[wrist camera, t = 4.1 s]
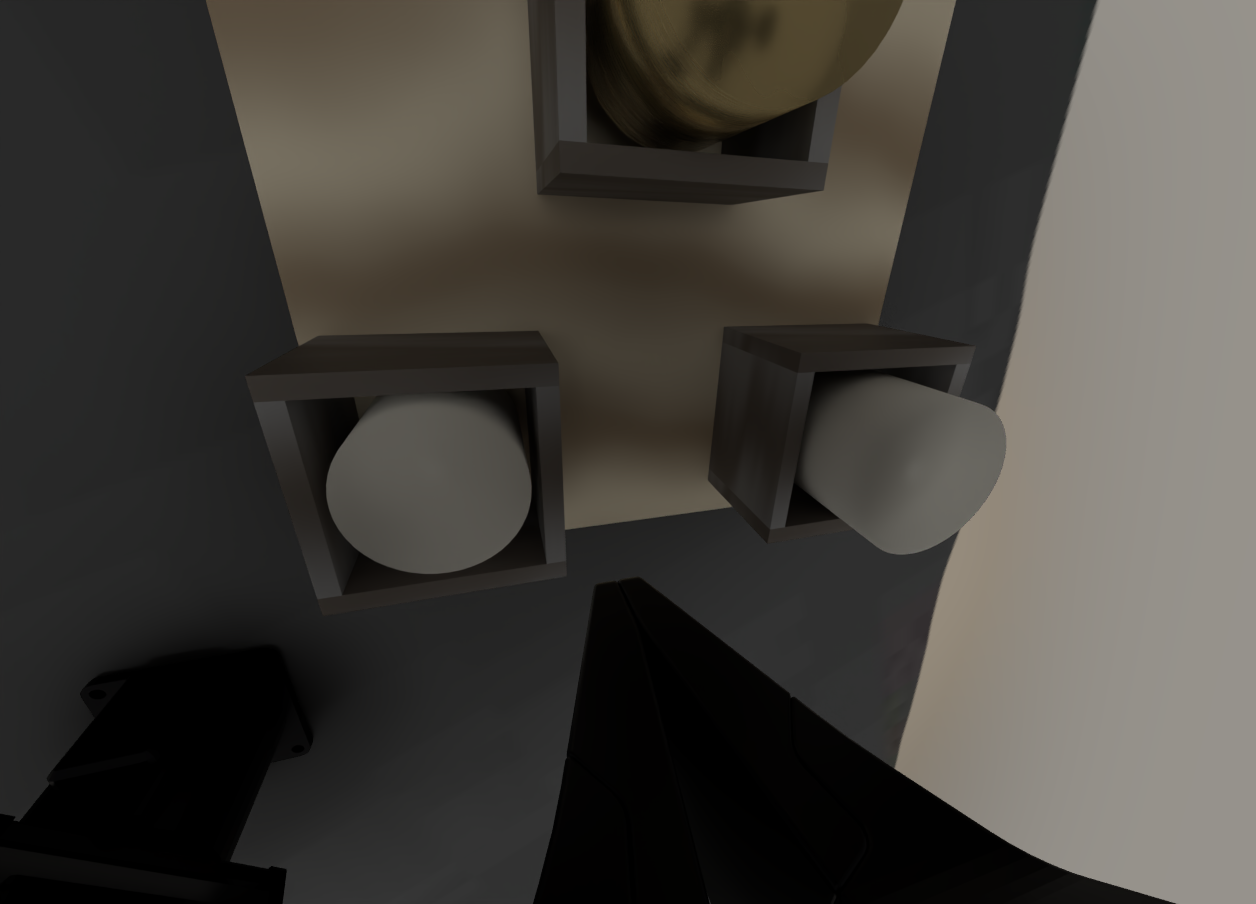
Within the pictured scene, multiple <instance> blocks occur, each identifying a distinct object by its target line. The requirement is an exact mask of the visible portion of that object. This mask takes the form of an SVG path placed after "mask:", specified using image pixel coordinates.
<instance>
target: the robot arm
mask: <svg viewBox="0 0 1256 904" xmlns="http://www.w3.org/2000/svg"><path fill="white" fill-rule="evenodd" d="M262 660H266V661H262ZM80 695H81V698H82V699H83V701H84V702H85V704H86V705H87V707H88V708H89V710H90V711H91V713H92V714H93V716H94V717H95V719H94V720H93V721H92V723H91V724H90V725H89V726H88V727H87V729H86V730H85V731H84V732H83V734H82V735H81V736H80V737H79V738H78V740H77V741H76V742H75V743H74V744H73V746H72V747H71V748H70V749H69V751H68V752H67V753H66V754H65V755H64V757H63V758H62V759H61V760H60V762H59V763H58V764H57V765H56V766H55V768H54V769H53V770H52V771H51V772H50V774H49V775H48V777H47V781H48V782H49V783H50V784H49V785H48V787H47V788H46V789H45V790H44V792H43V793H42V794H41V795H40V797H39V798H38V799H37V800H36V802H35V803H34V804H33V805H32V807H31V808H30V809H29V810H28V812H27V813H26V814H25V815H24V816H23V818H22V819H21V820H20V821H19V822H18V821H13V820H14V818H15V816H10V815H4V814H0V904H282V903H283V896H284V888H285V880H286V872H287V870H286V869H284V868H279V867H273V866H271V867H270V868H269V869H266V868H260V867H255V866H250V865H245V864H239V863H234V862H230V860H231V857H232V855H233V852H234V850H235V848H236V845H237V843H238V840H239V838H240V835H241V833H242V831H243V828H244V826H245V823H246V821H247V818H248V816H249V814H250V811H251V809H252V806H253V804H254V801H255V799H256V797H257V794H258V792H259V789H260V787H261V785H262V782H263V780H264V777H265V775H266V772H267V770H268V768H269V765H270V763H272V762H276V761H281V760H285V759H289V758H294V757H298V756H302V755H305V754H306V753H308V752H309V750H310V748H311V745H312V742H313V737H312V735H311V732H310V730H309V727H308V725H307V722H306V720H305V717H304V714H303V712H302V709H301V707H300V704H299V702H298V699H297V697H296V694H295V691H294V689H293V686H292V684H291V681H290V679H289V676H288V674H287V671H286V669H285V666H284V663H283V661H282V658H281V656H280V654H279V653H278V651H276V650H274V649H270V648H262V649H257V650H251V651H245V652H239V653H234V654H228V655H222V656H216V657H211V658H205V659H199V660H193V661H188V662H182V663H176V664H170V665H165V666H159V667H153V668H147V669H142V670H136V671H130V672H124V673H119V674H113V675H107V676H101V677H97V678H94V679H92V680H91V681H90V682H89V683H88V684H87V685H86V686H85V687H84V688H83V689H82V691H81V693H80ZM707 894H708V896H707ZM708 897H709V900H710V903H711V904H1176V903H1172V902H1169V901H1165V900H1162V899H1159V898H1155V897H1152V896H1148V895H1145V894H1142V893H1138V892H1135V891H1131V890H1128V889H1124V888H1121V887H1118V886H1114V885H1111V884H1108V883H1104V882H1100V881H1097V880H1094V879H1091V878H1087V877H1084V876H1081V875H1077V874H1075V873H1072V872H1069V871H1066V870H1064V869H1062V868H1059V867H1057V866H1054V865H1052V864H1049V863H1047V862H1045V861H1043V860H1041V859H1039V858H1036V857H1034V856H1032V855H1030V854H1028V853H1026V852H1025V851H1023V850H1021V849H1019V848H1017V847H1015V846H1013V845H1012V844H1010V843H1008V842H1007V841H1005V840H1003V839H1001V838H1000V837H998V836H997V835H995V834H994V833H992V832H990V831H989V830H987V829H986V828H984V827H983V826H981V825H980V824H978V823H977V822H975V821H974V820H972V819H970V818H969V817H967V816H966V815H964V814H963V813H961V812H960V811H958V810H957V809H955V808H954V807H952V806H951V805H949V804H947V803H946V802H944V801H943V800H941V799H940V798H938V797H937V796H935V795H934V794H932V793H931V792H929V791H928V790H926V789H925V788H923V787H922V786H920V785H918V784H917V783H915V782H914V781H912V780H911V779H909V778H907V777H906V776H905V775H903V774H902V773H900V772H899V771H897V770H896V769H894V768H892V767H891V766H889V765H888V764H886V763H885V762H884V761H882V760H881V759H879V758H878V757H876V756H875V755H873V754H872V753H870V752H869V751H867V750H866V749H864V748H863V747H862V746H860V745H859V744H857V743H856V742H854V741H853V740H851V739H850V738H848V737H847V736H846V735H844V734H843V733H842V732H840V731H839V730H838V729H836V728H835V727H834V726H832V725H831V724H830V723H828V722H827V721H825V720H824V719H823V718H821V717H820V716H819V715H817V714H816V713H815V712H813V711H812V710H811V709H810V708H808V707H807V706H806V705H804V704H803V703H802V702H801V701H799V700H798V699H797V698H795V697H792V698H791V696H790V693H789V692H787V691H786V690H785V689H784V688H782V687H781V686H780V685H778V684H777V683H776V682H775V681H773V680H772V679H771V678H769V677H768V676H767V675H766V674H764V673H763V672H762V671H760V670H759V669H758V668H757V667H755V666H754V665H753V664H751V663H750V662H749V661H748V660H746V659H745V658H744V657H742V656H741V655H740V654H739V653H737V652H736V651H735V650H733V649H732V648H731V647H730V646H728V645H727V644H726V643H724V642H723V641H722V640H721V639H719V638H718V637H717V636H715V635H714V634H713V633H712V632H710V631H709V630H708V629H706V628H705V627H704V626H703V625H701V624H700V623H699V622H697V621H696V620H695V619H694V618H692V617H691V616H690V615H688V614H687V613H686V612H685V611H683V610H682V609H681V608H679V607H678V606H677V605H676V604H674V603H673V602H672V601H670V600H669V599H668V598H667V597H665V596H664V595H663V594H661V593H660V592H659V591H658V590H656V589H655V588H654V587H652V586H651V585H650V584H649V583H647V582H646V581H645V580H643V579H642V578H640V577H631V578H625V579H621V580H619V581H618V583H617V582H616V581H609V582H603V583H598V584H596V585H595V586H594V591H593V597H592V603H591V609H590V615H589V621H588V628H587V634H586V640H585V646H584V652H583V658H582V664H581V670H580V676H579V682H578V688H577V694H576V700H575V707H574V713H573V719H572V725H571V731H570V737H569V743H568V749H567V759H566V760H565V765H564V772H563V778H562V784H561V790H560V795H559V800H558V805H557V810H556V815H555V820H554V825H553V830H552V834H551V838H550V842H549V846H548V849H547V853H546V857H545V861H544V865H543V869H542V873H541V877H540V881H539V884H538V888H537V891H536V895H535V898H534V902H533V904H710V903H709V900H708Z"/></svg>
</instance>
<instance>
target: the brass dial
mask: <svg viewBox="0 0 1256 904" xmlns="http://www.w3.org/2000/svg"><path fill="white" fill-rule="evenodd" d="M902 2H903V0H585V25H586V72H587V75H588V77H589V80H590V83H591V85H592V88H593V90H594V92H595V94H596V96H597V98H598V100H599V102H600V104H601V105H602V107H603V109H604V110H605V112H606V113H607V115H608V116H609V117H610V119H611V120H612V121H613V122H614V123H615V125H616V126H617V127H618V128H619V129H620V130H621V131H622V132H624V133H625V134H626V135H627V136H628V137H629V138H631V139H632V140H634V141H635V142H636V143H638V144H640V145H642V146H644V147H646V148H656V149H668V150H679V151H691V152H696V151H699V150H702V149H705V148H707V147H709V146H712V145H714V144H716V143H718V142H721V141H723V140H725V139H728V138H730V137H732V136H735V135H737V134H739V133H741V132H744V131H746V130H748V129H751V128H753V127H755V126H758V125H760V124H762V123H765V122H767V121H769V120H771V119H774V118H776V117H778V116H781V115H783V114H785V113H788V112H790V111H792V110H794V109H797V108H799V107H801V106H804V105H806V104H808V103H811V102H813V101H815V100H817V99H819V98H821V97H823V96H825V95H827V94H829V93H831V92H833V91H834V90H836V89H837V88H838V87H840V86H841V85H843V84H844V83H845V82H847V81H848V80H849V79H850V78H851V77H852V76H853V75H854V74H855V73H856V72H858V71H859V70H860V69H861V68H862V67H863V65H864V64H865V63H866V62H867V61H868V59H869V58H870V57H871V56H872V55H873V53H874V52H875V51H876V49H877V48H878V46H879V45H880V43H881V42H882V40H883V39H884V37H885V36H886V34H887V33H888V31H889V29H890V27H891V25H892V23H893V21H894V20H895V18H896V16H897V14H898V12H899V9H900V7H901V5H902Z"/></svg>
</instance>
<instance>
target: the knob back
mask: <svg viewBox="0 0 1256 904" xmlns="http://www.w3.org/2000/svg"><path fill="white" fill-rule="evenodd" d="M1005 451H1006V435H1005V430H1004V427H1003V424H1002V422H1001V420H1000V418H999V417H998V415H997V414H996V413H995V412H994V411H993V410H991V409H990V408H988V407H987V406H984V405H982V404H979V403H976V402H973V401H969V400H966V399H963V398H960V397H957V396H954V395H951V394H948V393H945V392H942V391H938V390H935V389H932V388H929V387H926V386H923V385H920V384H917V383H914V382H911V381H907V380H904V379H901V378H898V377H895V376H892V375H889V374H886V373H883V372H880V371H876V370H873V369H864V370H845V371H827V372H815V374H814V379H813V384H812V389H811V395H810V400H809V405H808V410H807V415H806V420H805V426H804V431H803V436H802V441H801V446H800V451H799V457H798V462H797V467H796V472H795V477H794V482H793V483H795V484H796V485H797V486H799V487H800V488H801V489H803V490H804V491H805V492H806V493H808V494H809V495H810V496H812V497H813V498H814V499H816V500H817V501H818V502H819V503H821V504H822V505H823V506H825V507H826V508H827V509H828V510H830V511H831V512H832V513H834V514H835V515H836V516H838V517H839V518H840V519H841V520H843V521H844V522H845V523H847V524H848V525H849V526H851V527H852V528H853V529H854V530H856V531H857V532H858V533H860V534H861V535H862V536H863V537H865V538H866V539H867V540H869V541H870V542H871V543H873V544H874V545H875V546H876V547H878V548H880V549H881V550H883V551H885V552H888V553H892V554H912V553H916V552H920V551H923V550H926V549H929V548H931V547H933V546H935V545H937V544H939V543H941V542H942V541H944V540H946V539H947V538H949V537H950V536H951V535H953V534H954V533H956V532H957V531H958V530H959V529H960V528H962V527H963V526H964V525H965V524H966V523H967V522H968V521H969V520H970V519H971V518H972V517H973V516H974V515H975V513H976V512H977V511H978V510H979V509H980V507H981V506H982V505H983V503H984V502H985V500H986V499H987V498H988V496H989V494H990V493H991V491H992V489H993V487H994V486H995V484H996V482H997V479H998V477H999V475H1000V472H1001V469H1002V466H1003V462H1004V458H1005Z"/></svg>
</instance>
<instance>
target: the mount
mask: <svg viewBox="0 0 1256 904" xmlns="http://www.w3.org/2000/svg"><path fill="white" fill-rule="evenodd" d="M206 2H207V6H208V10H209V14H210V17H211V21H212V25H213V28H214V32H215V36H216V40H217V43H218V47H219V51H220V55H221V58H222V62H223V66H224V69H225V73H226V77H227V81H228V84H229V88H230V92H231V96H232V99H233V103H234V107H235V110H236V114H237V118H238V122H239V125H240V129H241V133H242V136H243V140H244V144H245V148H246V151H247V155H248V159H249V163H250V166H251V170H252V174H253V177H254V181H255V185H256V189H257V192H258V196H259V200H260V204H261V207H262V211H263V215H264V218H265V222H266V226H267V230H268V233H269V237H270V241H271V244H272V248H273V252H274V256H275V259H276V263H277V267H278V271H279V274H280V278H281V282H282V285H283V289H284V293H285V297H286V300H287V304H288V308H289V312H290V315H291V319H292V323H293V326H294V330H295V334H296V338H297V341H298V345H299V346H298V347H297V348H295V349H293V350H291V351H289V352H288V353H286V354H284V355H282V356H280V357H278V358H277V359H275V360H273V361H271V362H269V363H268V364H266V365H264V366H262V367H260V368H258V369H257V370H255V371H253V372H251V373H249V374H248V375H246V376H245V378H246V381H247V384H248V387H249V391H250V394H251V397H252V400H253V403H254V406H255V409H256V412H257V415H258V418H259V421H260V424H261V427H262V431H263V434H264V437H265V440H266V443H267V446H268V449H269V452H270V455H271V458H272V461H273V464H274V467H275V471H276V474H277V477H278V480H279V483H280V486H281V489H282V492H283V495H284V498H285V501H286V504H287V507H288V511H289V514H290V517H291V520H292V523H293V526H294V529H295V532H296V535H297V538H298V541H299V544H300V547H301V551H302V554H303V557H304V560H305V563H306V566H307V569H308V572H309V575H310V578H311V581H312V584H313V587H314V591H315V594H316V597H317V600H318V603H319V606H320V609H321V612H322V615H323V616H327V615H333V614H339V613H345V612H352V611H358V610H364V609H370V608H376V607H382V606H388V605H394V604H401V603H407V602H413V601H419V600H425V599H431V598H437V597H444V596H450V595H456V594H462V593H468V592H474V591H480V590H486V589H493V588H499V587H505V586H511V585H517V584H523V583H529V582H535V581H542V580H548V579H554V578H560V577H566V576H567V568H566V543H565V530H567V529H574V528H581V527H589V526H596V525H603V524H611V523H618V522H625V521H633V520H640V519H647V518H655V517H662V516H669V515H677V514H684V513H691V512H699V511H706V510H713V509H721V508H728V507H733V508H734V509H735V510H736V511H737V512H738V513H739V514H740V515H741V516H742V517H743V518H744V519H745V520H746V521H747V522H748V524H749V525H750V526H751V527H752V528H753V529H754V530H755V531H756V532H757V533H758V534H759V535H760V536H761V537H762V538H763V539H764V540H765V542H766V543H767V544H768V543H774V542H781V541H787V540H793V539H799V538H805V537H811V536H817V535H823V534H830V533H836V532H842V531H848V530H854V529H853V528H852V527H851V526H849V525H848V524H847V523H845V522H844V521H843V520H841V519H840V518H839V517H838V516H836V515H835V514H834V513H832V512H831V511H830V510H828V509H827V508H826V507H825V506H823V505H822V504H821V503H819V502H818V501H817V500H816V499H814V498H813V497H812V496H810V495H809V494H808V493H806V492H805V491H804V490H803V489H801V488H800V487H799V486H797V485H796V484H795V483H793V482H794V477H795V472H796V467H797V462H798V457H799V451H800V446H801V441H802V436H803V431H804V426H805V420H806V415H807V410H808V405H809V400H810V395H811V389H812V384H813V379H814V374H815V372H827V371H845V370H864V369H873V370H876V371H880V372H883V373H886V374H889V375H892V376H895V377H898V378H901V379H904V380H907V381H911V382H914V383H917V384H920V385H923V386H926V387H929V388H932V389H935V390H938V391H942V392H945V393H948V394H951V395H954V396H957V397H959V396H960V393H961V390H962V387H963V384H964V381H965V378H966V375H967V372H968V369H969V366H970V363H971V360H972V357H973V354H974V351H975V348H976V346H974V345H969V344H964V343H959V342H954V341H950V340H945V339H940V338H935V337H930V336H925V335H921V334H916V333H911V332H906V331H901V330H897V329H892V328H887V327H882V326H878V323H879V319H880V314H881V310H882V306H883V302H884V298H885V294H886V289H887V285H888V281H889V277H890V273H891V269H892V264H893V260H894V256H895V252H896V248H897V244H898V239H899V235H900V231H901V227H902V223H903V219H904V214H905V210H906V206H907V202H908V198H909V194H910V189H911V185H912V181H913V177H914V173H915V169H916V165H917V160H918V156H919V152H920V148H921V144H922V140H923V135H924V131H925V127H926V123H927V119H928V115H929V110H930V106H931V102H932V98H933V94H934V90H935V85H936V81H937V77H938V73H939V69H940V65H941V60H942V56H943V52H944V48H945V44H946V40H947V36H948V31H949V27H950V23H951V19H952V15H953V11H954V6H955V2H956V0H903V2H902V5H901V7H900V9H899V12H898V14H897V16H896V18H895V20H894V21H893V23H892V25H891V27H890V29H889V31H888V33H887V34H886V36H885V37H884V39H883V40H882V42H881V43H880V45H879V46H878V48H877V49H876V51H875V52H874V53H873V55H872V56H871V57H870V58H869V59H868V61H867V62H866V63H865V64H864V65H863V67H862V68H861V69H860V70H859V71H858V72H856V73H855V74H854V75H853V76H852V77H851V78H850V79H849V80H848V81H847V82H845V83H844V84H843V85H841V86H840V87H838V88H837V89H836V90H834V91H833V92H831V93H829V94H827V95H825V96H823V97H821V98H819V99H817V100H815V101H813V102H811V103H808V104H806V105H804V106H801V107H799V108H797V109H794V110H792V111H790V112H788V113H785V114H783V115H781V116H778V117H776V118H774V119H771V120H769V121H767V122H765V123H762V124H760V125H758V126H755V127H753V128H751V129H748V130H746V131H744V132H741V133H739V134H737V135H735V136H732V137H730V138H728V139H725V140H723V141H721V142H718V143H716V144H714V145H712V146H709V147H707V148H705V149H702V150H699V151H696V152H691V151H679V150H668V149H656V148H646V147H644V146H642V145H640V144H638V143H636V142H635V141H634V140H632V139H631V138H629V137H628V136H627V135H626V134H625V133H624V132H622V131H621V130H620V129H619V128H618V127H617V126H616V125H615V123H614V122H613V121H612V120H611V119H610V117H609V116H608V115H607V113H606V112H605V110H604V109H603V107H602V105H601V104H600V102H599V100H598V98H597V96H596V94H595V92H594V90H593V88H592V85H591V83H590V80H589V77H588V75H587V72H586V25H585V0H206ZM494 389H505V390H506V392H507V393H508V394H509V396H510V397H511V399H512V401H513V403H514V405H515V407H516V410H517V414H518V418H519V423H520V428H521V433H522V438H523V443H524V448H525V453H526V458H527V464H528V469H529V474H530V480H531V502H530V507H529V511H528V514H527V517H526V519H525V521H524V523H523V525H522V527H521V528H520V530H519V532H518V533H517V535H516V536H515V537H514V538H513V539H512V540H511V542H510V543H509V544H508V545H506V546H505V547H504V548H503V549H502V550H501V551H499V552H498V553H497V554H495V555H494V556H492V557H491V558H489V559H487V560H485V561H483V562H481V563H479V564H477V565H474V566H472V567H469V568H466V569H463V570H459V571H454V572H449V573H439V574H420V573H411V572H406V571H401V570H397V569H394V568H390V567H387V566H385V565H383V564H380V563H378V562H376V561H374V560H372V559H370V558H369V557H367V556H365V555H364V554H362V553H361V552H360V551H358V550H357V549H356V548H354V547H353V546H352V545H351V544H350V543H349V542H348V541H347V540H346V539H345V537H344V536H343V535H342V533H341V532H340V531H339V530H338V528H337V526H336V524H335V522H334V521H333V519H332V516H331V513H330V511H329V507H328V502H327V497H326V483H327V476H328V472H329V469H330V466H331V463H332V460H333V459H334V457H335V455H336V453H337V451H338V450H339V448H340V447H341V445H342V444H343V443H344V441H345V440H346V438H347V437H348V435H349V434H350V433H351V431H352V430H353V428H354V427H355V426H356V424H357V423H358V421H359V420H360V419H361V417H362V416H363V414H364V413H365V412H366V410H367V409H368V407H369V406H370V405H371V403H372V402H373V400H374V399H375V397H376V396H383V395H401V394H420V393H438V392H457V391H475V390H494Z"/></svg>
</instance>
